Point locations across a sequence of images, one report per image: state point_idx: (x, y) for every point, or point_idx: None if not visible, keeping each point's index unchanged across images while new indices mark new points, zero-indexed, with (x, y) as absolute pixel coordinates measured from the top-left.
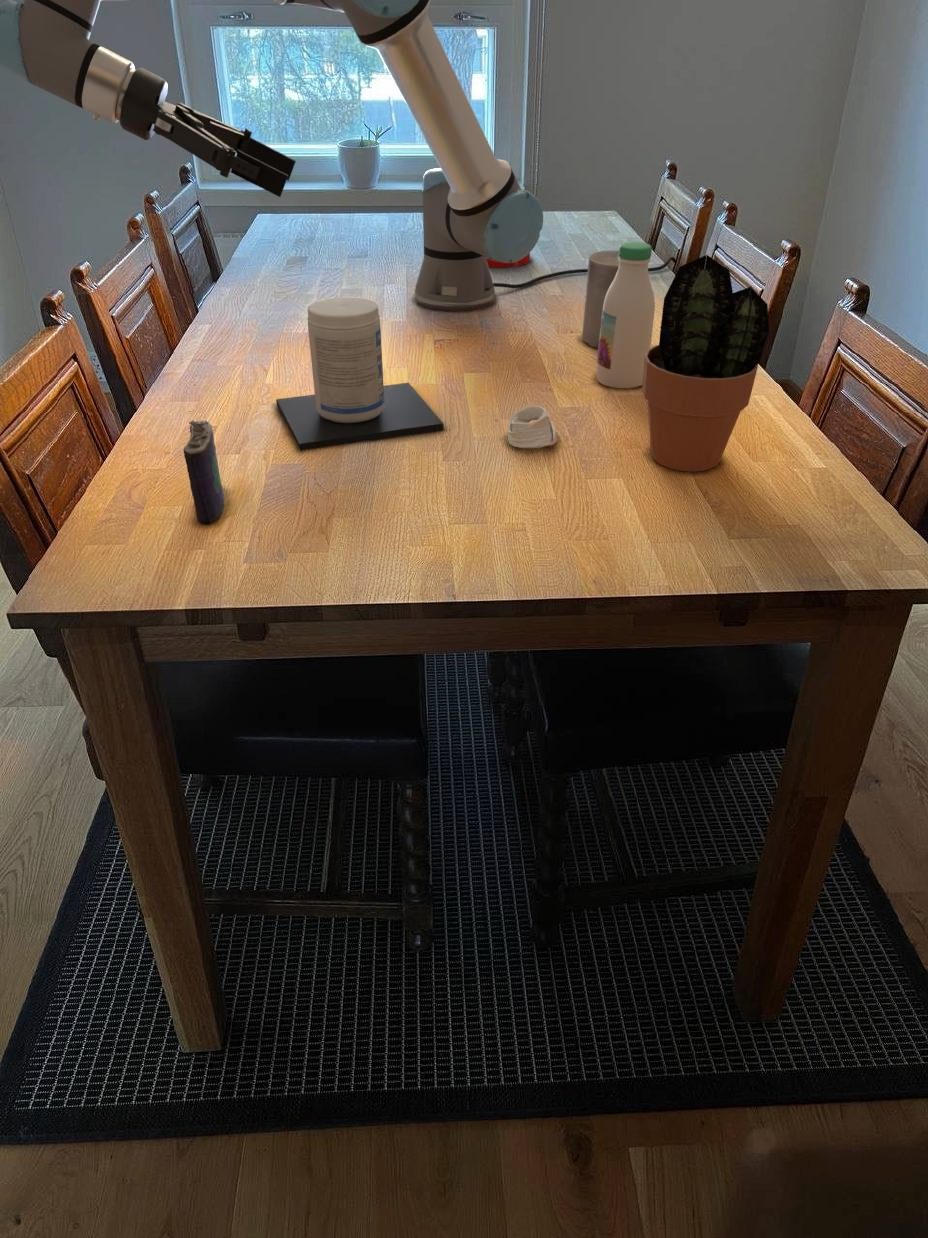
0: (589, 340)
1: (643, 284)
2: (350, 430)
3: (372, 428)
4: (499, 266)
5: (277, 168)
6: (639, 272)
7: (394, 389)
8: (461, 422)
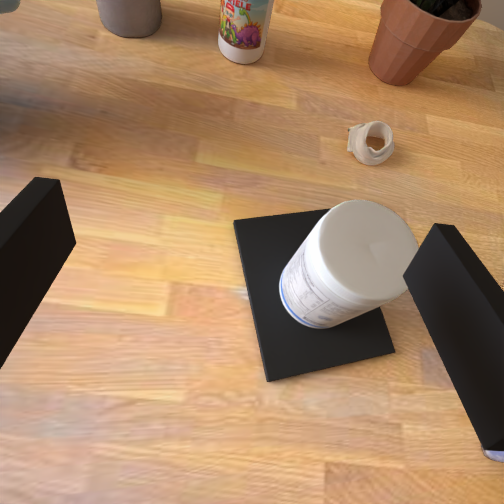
0: (141, 32)
1: None
2: None
3: None
4: None
5: (49, 263)
6: None
7: (253, 237)
8: (325, 191)
